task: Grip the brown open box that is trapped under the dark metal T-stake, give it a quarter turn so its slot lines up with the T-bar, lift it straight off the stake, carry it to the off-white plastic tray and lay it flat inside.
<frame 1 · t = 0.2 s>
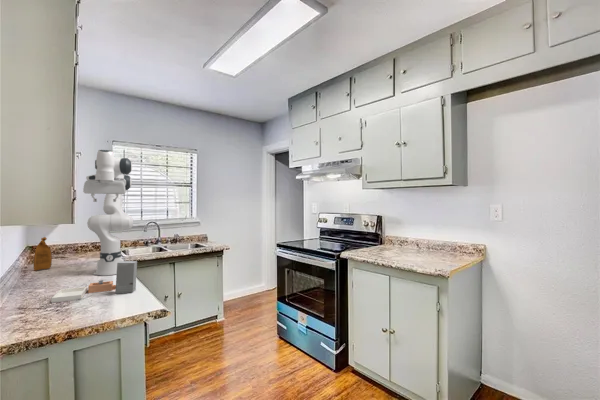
hand: (105, 201, 170), 47 cm above the counter, fingers open, 8 cm apart
tray: (70, 296, 148), on the counter
coffee package: (42, 269, 210), on the counter
stake: (101, 290, 159), on the counter
skincare box: (126, 291, 157), on the counter
brown open box: (101, 290, 159), on the counter
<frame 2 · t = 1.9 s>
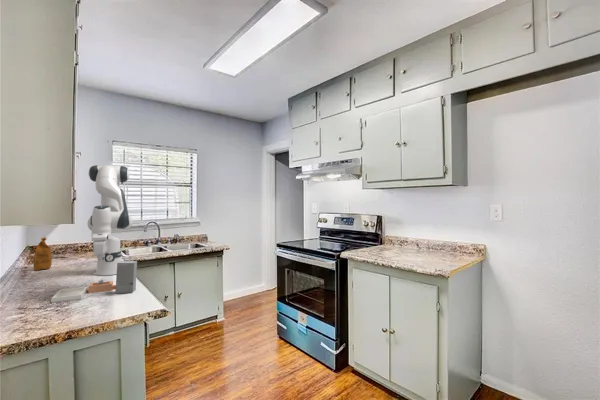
hand: (101, 261, 159), 15 cm above the counter, fingers open, 8 cm apart
nothing on the counter moved.
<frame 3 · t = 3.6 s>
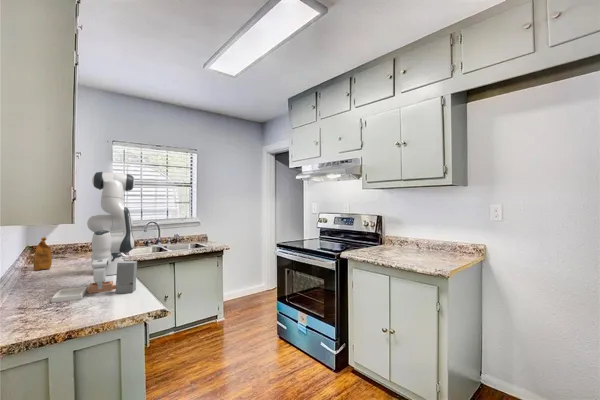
hand: (101, 287, 159), 2 cm above the counter, fingers closed on brown open box, 7 cm apart
brown open box: (101, 290, 159), on the counter, touching gripper
everything else where it was.
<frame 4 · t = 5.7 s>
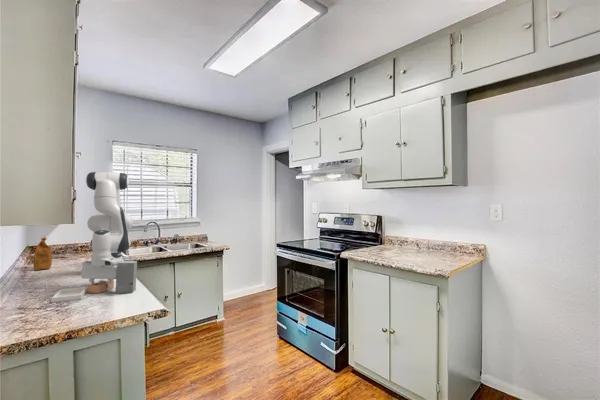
hand: (101, 286, 159), 2 cm above the counter, fingers closed on brown open box, 7 cm apart
brown open box: (100, 289, 159), on the counter, touching gripper
everything else where it was.
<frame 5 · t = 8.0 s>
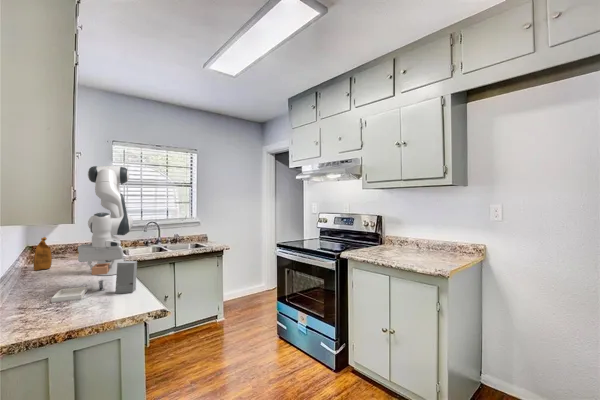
hand: (101, 268, 159), 11 cm above the counter, fingers closed on brown open box, 7 cm apart
brown open box: (101, 272, 159), point 10 cm above the counter, touching gripper
everything else where it was.
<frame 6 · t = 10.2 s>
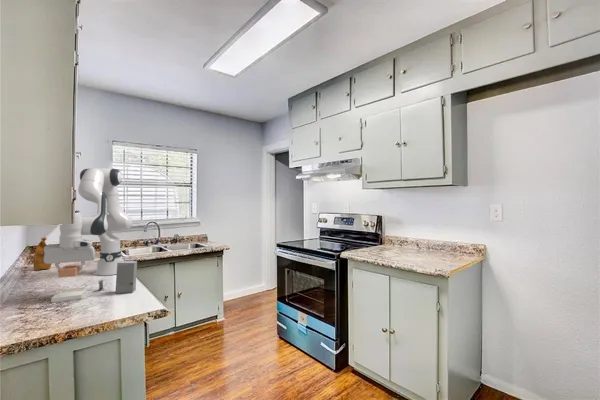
hand: (70, 271, 147), 13 cm above the counter, fingers closed on brown open box, 7 cm apart
brown open box: (70, 274, 147), point 11 cm above the counter, touching gripper
everything else where it was.
when the fingers open (4 cm above the counter, at t = 12.3 s): brown open box drops 1 cm, resting on tray.
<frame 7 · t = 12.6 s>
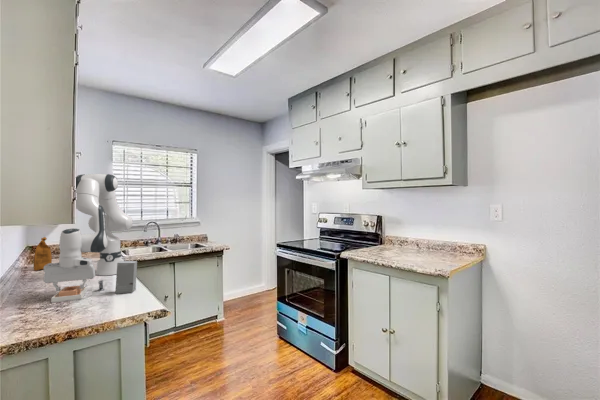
hand: (70, 289, 147), 4 cm above the counter, fingers open, 8 cm apart
brown open box: (70, 296, 147), resting on tray
everything else where it was.
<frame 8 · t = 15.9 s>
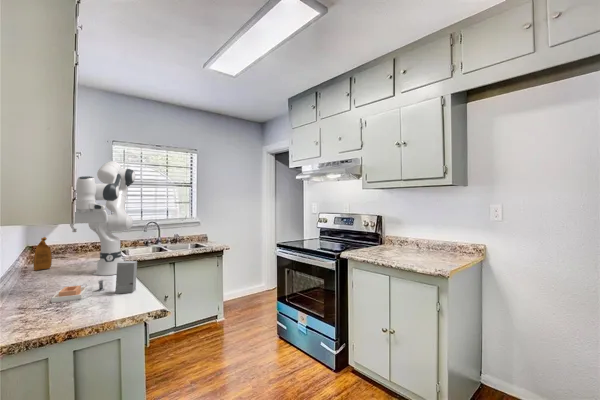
hand: (85, 231, 160), 31 cm above the counter, fingers open, 8 cm apart
nothing on the counter moved.
at the end: brown open box inside the target area on the tray (0.1 cm from its centre), point 0.5 cm above the tray's base; brown open box tilted 0°; the gripper is holding nothing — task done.
